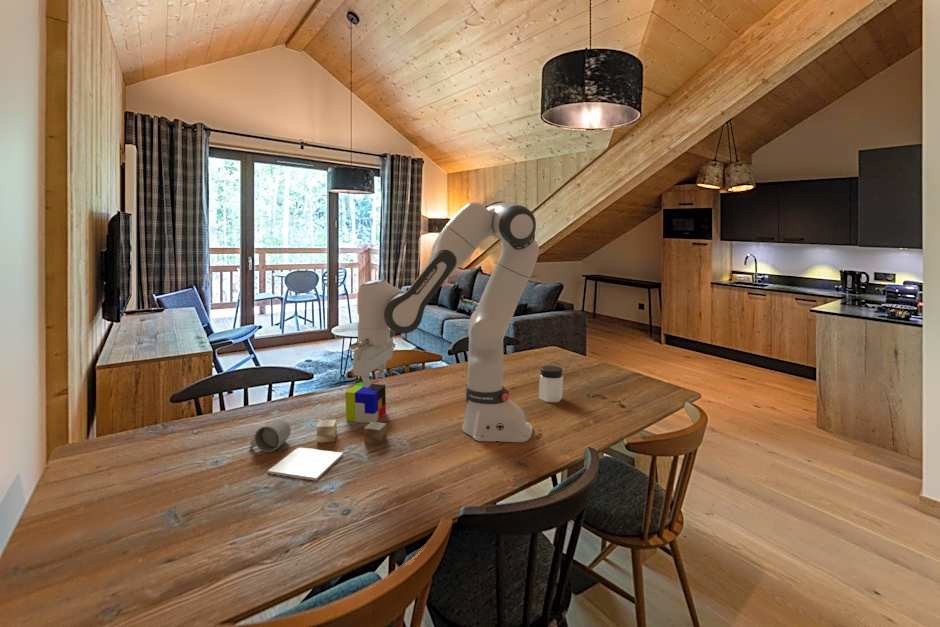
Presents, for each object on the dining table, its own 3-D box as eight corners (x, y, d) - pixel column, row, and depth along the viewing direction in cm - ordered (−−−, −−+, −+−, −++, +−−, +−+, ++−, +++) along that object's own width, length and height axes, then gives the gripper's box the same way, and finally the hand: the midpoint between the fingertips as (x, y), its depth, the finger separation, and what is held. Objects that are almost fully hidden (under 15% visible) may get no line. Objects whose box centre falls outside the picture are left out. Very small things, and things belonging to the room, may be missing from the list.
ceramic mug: (293, 440, 142) (291, 416, 141) (280, 453, 134) (278, 427, 133) (259, 439, 143) (257, 415, 142) (244, 451, 135) (242, 426, 134)
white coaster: (343, 455, 133) (342, 452, 133) (316, 480, 120) (316, 477, 120) (298, 449, 136) (298, 447, 136) (267, 473, 123) (267, 470, 123)
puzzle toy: (374, 423, 156) (373, 394, 154) (346, 420, 158) (345, 392, 156) (385, 412, 165) (385, 385, 164) (359, 409, 167) (358, 382, 166)
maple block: (336, 434, 147) (336, 419, 146) (334, 441, 142) (333, 426, 141) (320, 435, 146) (319, 420, 145) (317, 442, 141) (316, 426, 141)
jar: (543, 393, 187) (545, 364, 185) (564, 397, 183) (565, 367, 181) (536, 400, 179) (537, 369, 177) (557, 404, 175) (558, 373, 173)
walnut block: (386, 438, 145) (386, 423, 144) (380, 445, 140) (379, 430, 139) (371, 436, 146) (371, 421, 145) (364, 444, 141) (364, 428, 140)
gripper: (368, 344, 127) (368, 394, 129) (396, 329, 146) (396, 372, 149) (346, 343, 128) (347, 392, 130) (377, 328, 148) (378, 371, 150)
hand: (374, 381), depth 140 cm, fingers open, 8 cm apart
